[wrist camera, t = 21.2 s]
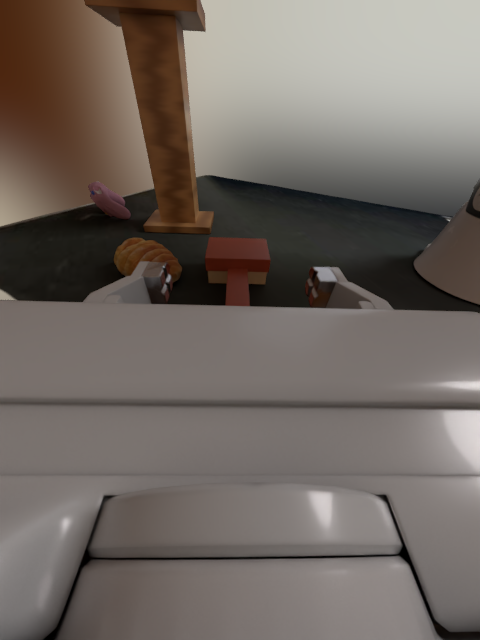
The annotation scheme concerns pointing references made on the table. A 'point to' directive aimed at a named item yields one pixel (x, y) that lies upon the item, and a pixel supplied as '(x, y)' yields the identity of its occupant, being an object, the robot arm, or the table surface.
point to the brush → (237, 266)
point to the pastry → (144, 256)
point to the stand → (163, 102)
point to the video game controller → (108, 201)
